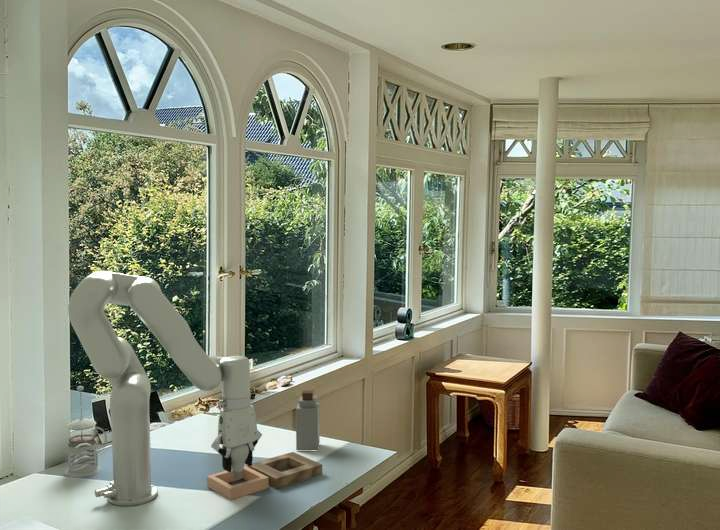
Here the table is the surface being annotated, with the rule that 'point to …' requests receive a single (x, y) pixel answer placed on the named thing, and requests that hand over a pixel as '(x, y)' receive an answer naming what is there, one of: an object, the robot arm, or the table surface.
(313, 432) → the perfume bottle
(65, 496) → the table surface
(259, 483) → the terracotta stand
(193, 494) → the table surface
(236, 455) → the lightbulb
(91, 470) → the french press
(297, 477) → the walnut holder
